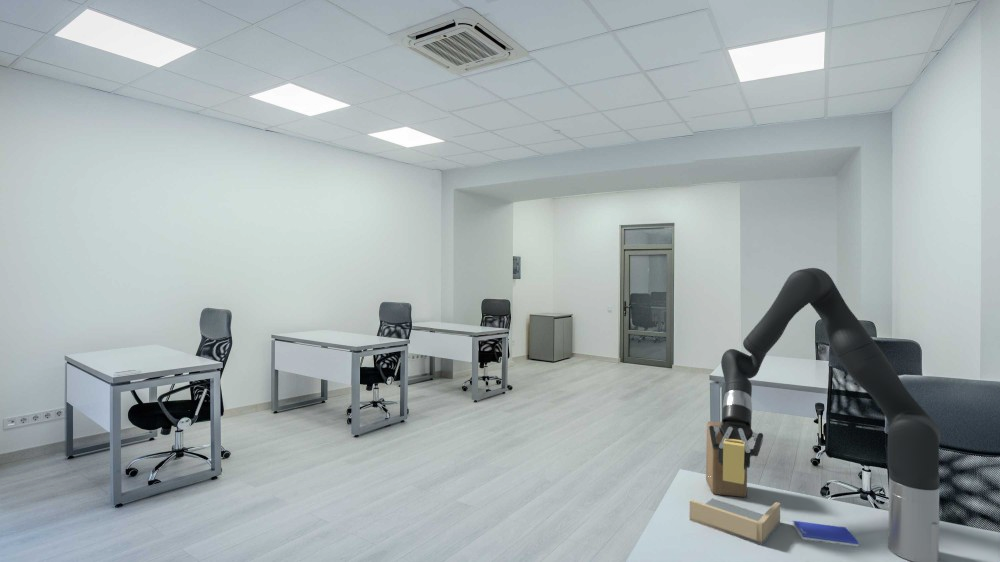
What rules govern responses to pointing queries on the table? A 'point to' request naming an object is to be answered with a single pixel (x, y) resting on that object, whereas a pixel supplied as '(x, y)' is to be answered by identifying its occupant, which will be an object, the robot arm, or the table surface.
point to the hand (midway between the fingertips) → (733, 465)
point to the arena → (736, 519)
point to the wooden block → (720, 469)
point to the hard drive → (824, 533)
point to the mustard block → (733, 460)
